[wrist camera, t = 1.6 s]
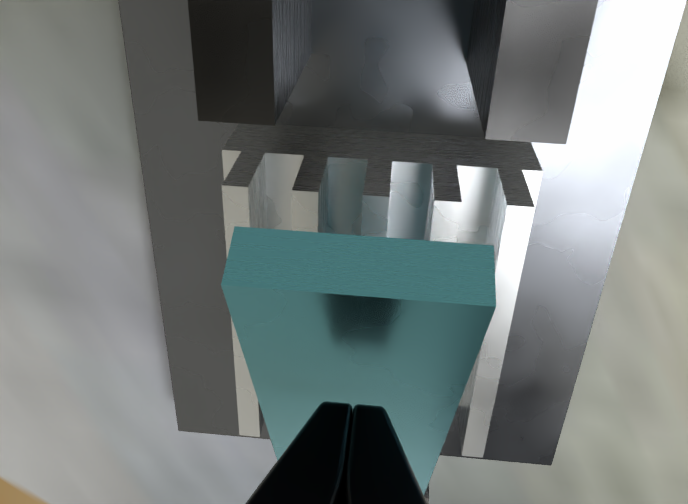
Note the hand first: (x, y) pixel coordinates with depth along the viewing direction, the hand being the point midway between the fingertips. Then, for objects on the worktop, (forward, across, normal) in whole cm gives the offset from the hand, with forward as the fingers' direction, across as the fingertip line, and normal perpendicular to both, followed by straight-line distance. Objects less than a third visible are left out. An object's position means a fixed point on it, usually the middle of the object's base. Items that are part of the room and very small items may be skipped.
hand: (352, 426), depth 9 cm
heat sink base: (+12, 0, +3) cm, 13 cm away
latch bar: (+4, 0, +4) cm, 6 cm away
